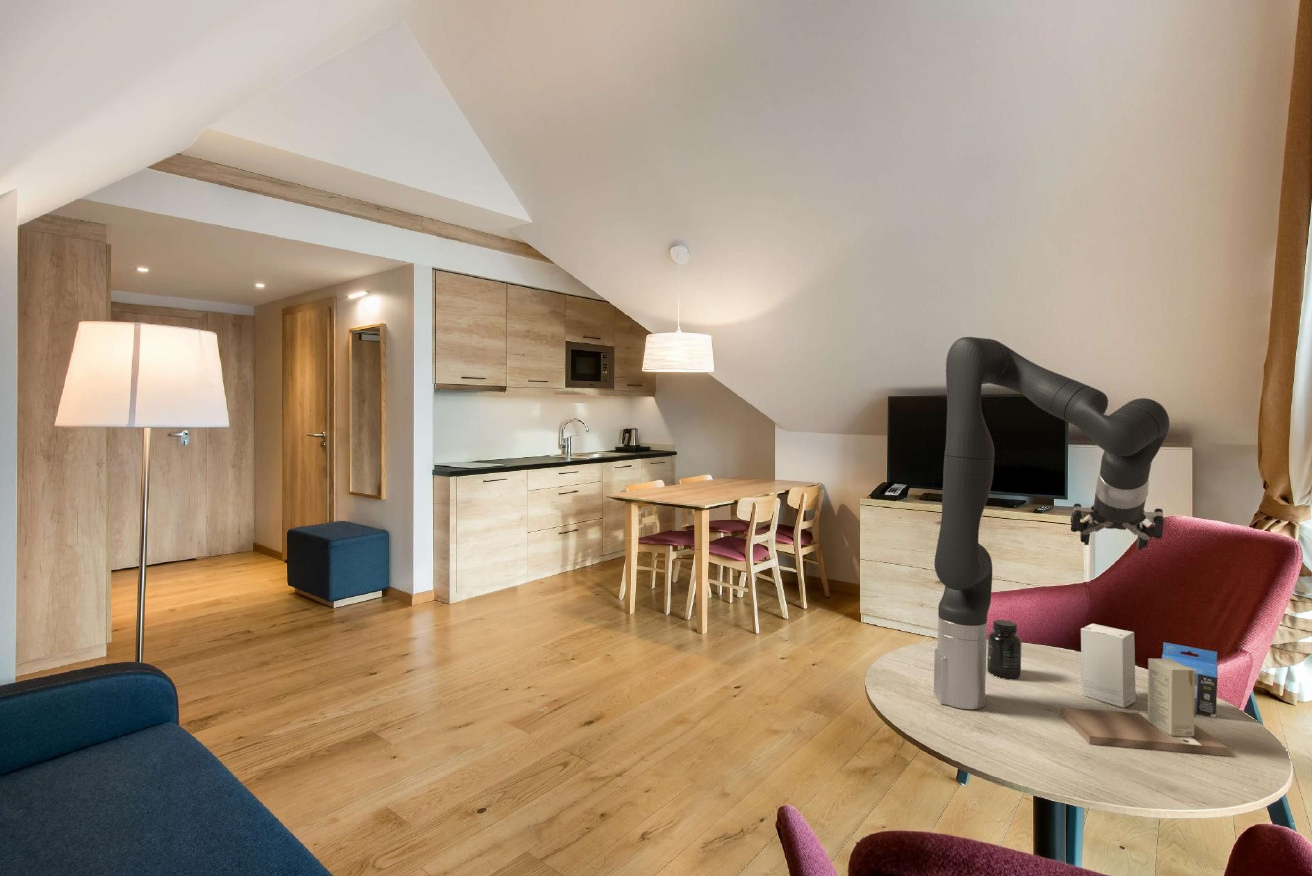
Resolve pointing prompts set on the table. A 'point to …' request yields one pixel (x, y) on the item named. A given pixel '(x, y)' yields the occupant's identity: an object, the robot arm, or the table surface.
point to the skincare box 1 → (1108, 664)
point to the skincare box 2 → (1171, 696)
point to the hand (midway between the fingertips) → (1112, 543)
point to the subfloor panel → (1136, 732)
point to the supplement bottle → (1004, 650)
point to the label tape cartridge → (1198, 674)
